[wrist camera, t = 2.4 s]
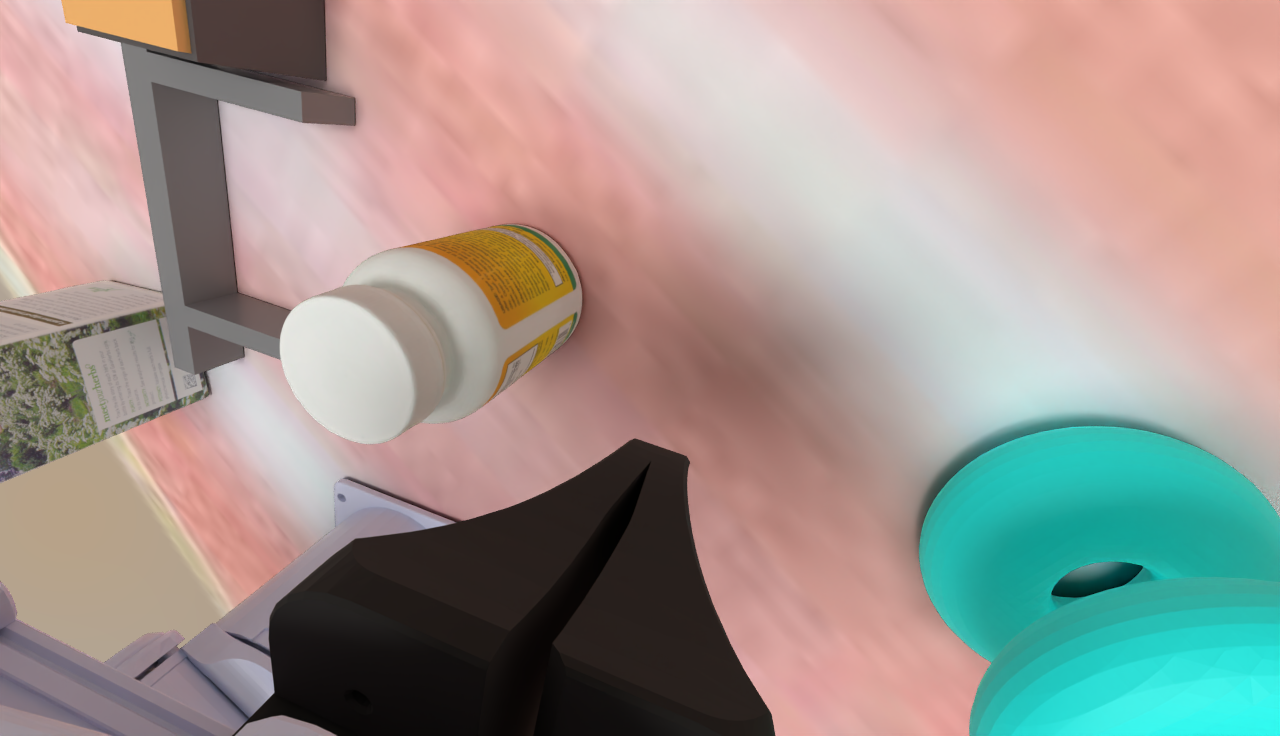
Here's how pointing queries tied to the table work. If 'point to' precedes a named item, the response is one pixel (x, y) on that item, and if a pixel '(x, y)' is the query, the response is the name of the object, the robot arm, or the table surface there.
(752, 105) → the table surface
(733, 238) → the table surface
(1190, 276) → the table surface
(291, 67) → the grey tray with block
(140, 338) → the syrup box
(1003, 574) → the donuts
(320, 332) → the supplement bottle
